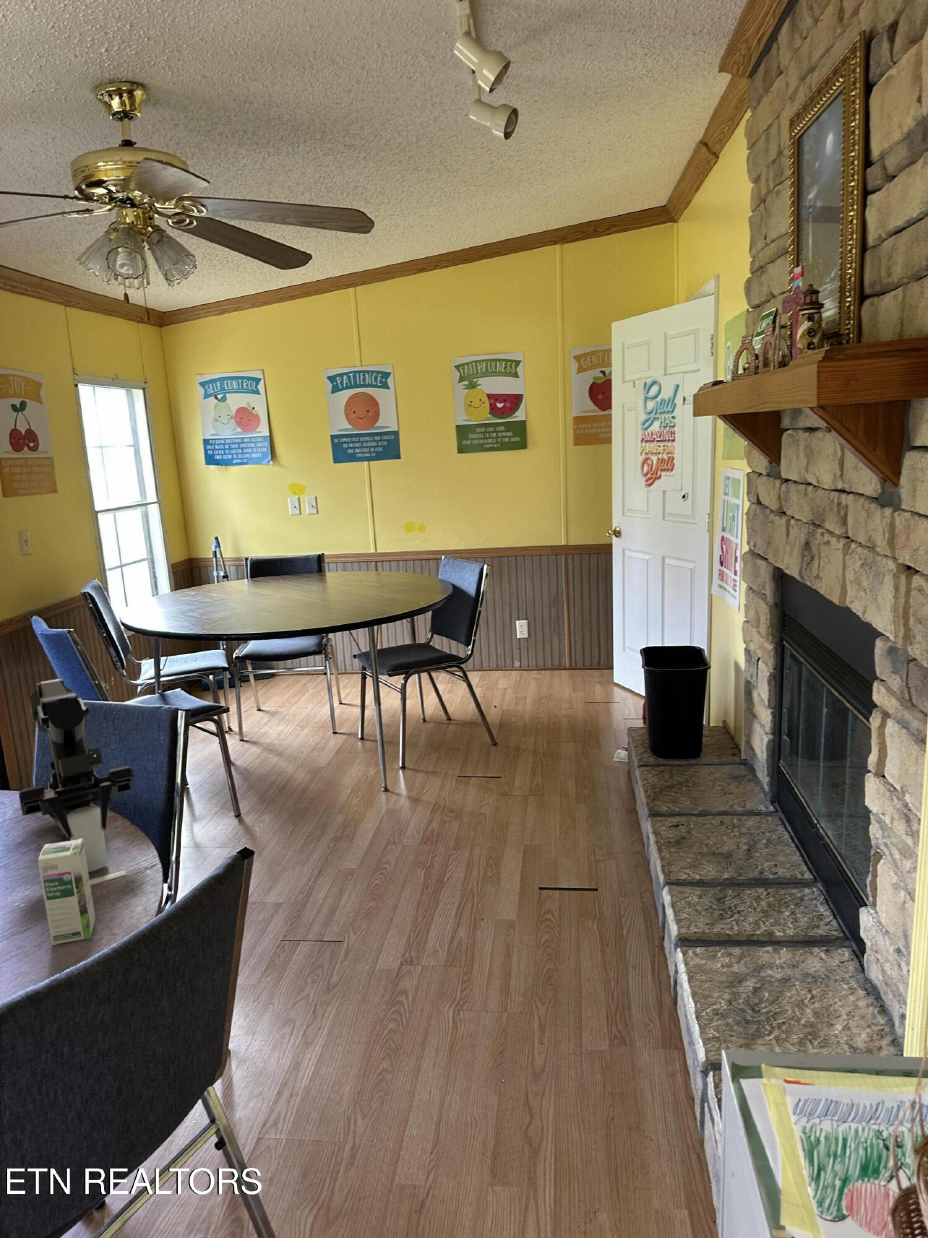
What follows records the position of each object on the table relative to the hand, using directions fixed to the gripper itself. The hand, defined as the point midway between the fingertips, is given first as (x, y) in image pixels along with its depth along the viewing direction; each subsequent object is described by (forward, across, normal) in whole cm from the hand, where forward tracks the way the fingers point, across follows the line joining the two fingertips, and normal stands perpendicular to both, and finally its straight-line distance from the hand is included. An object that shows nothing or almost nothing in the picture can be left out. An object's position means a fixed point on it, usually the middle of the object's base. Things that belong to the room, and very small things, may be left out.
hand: (87, 833), depth 148 cm
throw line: (+8, 0, +3) cm, 8 cm away
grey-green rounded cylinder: (+4, 0, +6) cm, 7 cm away
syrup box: (+18, -5, -7) cm, 21 cm away
